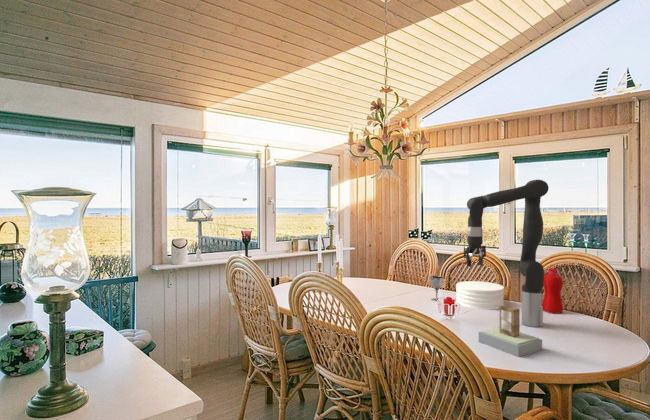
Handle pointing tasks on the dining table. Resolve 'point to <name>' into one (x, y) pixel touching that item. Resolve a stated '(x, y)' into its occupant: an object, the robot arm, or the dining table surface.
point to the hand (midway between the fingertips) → (474, 265)
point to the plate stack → (480, 295)
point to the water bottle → (552, 292)
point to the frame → (509, 321)
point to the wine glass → (436, 284)
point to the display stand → (510, 342)
